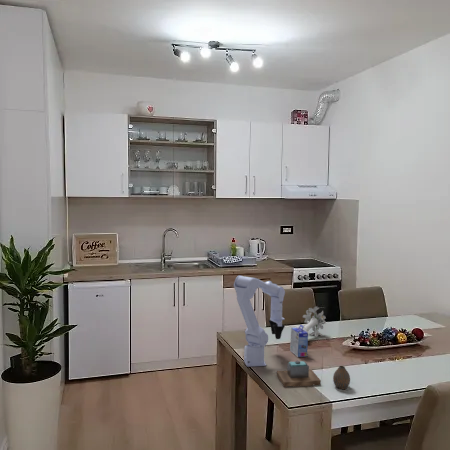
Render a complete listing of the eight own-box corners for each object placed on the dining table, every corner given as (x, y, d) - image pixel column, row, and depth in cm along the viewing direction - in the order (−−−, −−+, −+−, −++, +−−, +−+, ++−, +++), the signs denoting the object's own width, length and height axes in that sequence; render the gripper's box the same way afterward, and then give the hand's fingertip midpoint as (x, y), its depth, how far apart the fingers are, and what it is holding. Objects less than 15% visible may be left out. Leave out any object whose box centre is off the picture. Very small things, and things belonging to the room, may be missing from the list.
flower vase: (305, 356, 241) (328, 334, 258) (307, 327, 234) (330, 307, 251) (285, 346, 249) (308, 326, 266) (286, 318, 242) (310, 299, 259)
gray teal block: (308, 377, 191) (308, 366, 191) (290, 378, 190) (290, 367, 190) (304, 372, 196) (305, 361, 196) (287, 373, 195) (287, 362, 195)
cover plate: (306, 367, 192) (306, 363, 192) (291, 368, 191) (291, 363, 191) (303, 364, 195) (303, 359, 195) (289, 365, 195) (289, 360, 194)
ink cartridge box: (308, 356, 222) (308, 328, 221) (297, 357, 220) (298, 329, 219) (299, 350, 231) (300, 322, 230) (289, 350, 230) (290, 323, 229)
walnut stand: (283, 387, 186) (284, 382, 186) (276, 375, 198) (276, 371, 198) (320, 385, 189) (320, 380, 189) (311, 373, 201) (311, 369, 200)
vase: (347, 383, 190) (347, 363, 190) (352, 390, 184) (352, 370, 183) (331, 383, 190) (331, 363, 190) (335, 390, 183) (336, 370, 183)
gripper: (288, 313, 216) (287, 340, 217) (280, 305, 230) (280, 331, 231) (274, 313, 215) (273, 341, 216) (267, 306, 229) (266, 332, 230)
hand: (276, 336), depth 223 cm, fingers open, 7 cm apart
